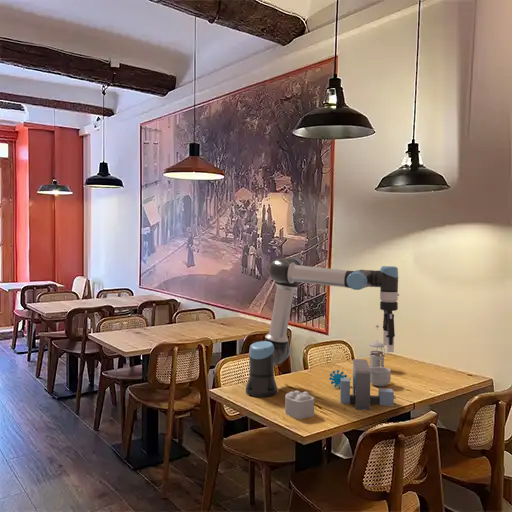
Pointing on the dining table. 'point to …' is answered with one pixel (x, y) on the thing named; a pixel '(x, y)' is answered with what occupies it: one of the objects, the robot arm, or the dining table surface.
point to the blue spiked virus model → (337, 378)
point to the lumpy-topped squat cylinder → (299, 404)
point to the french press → (377, 355)
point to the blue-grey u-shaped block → (382, 399)
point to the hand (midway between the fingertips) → (388, 348)
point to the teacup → (380, 376)
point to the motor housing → (361, 384)
